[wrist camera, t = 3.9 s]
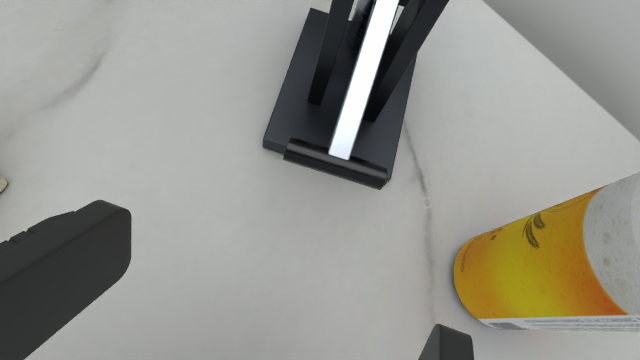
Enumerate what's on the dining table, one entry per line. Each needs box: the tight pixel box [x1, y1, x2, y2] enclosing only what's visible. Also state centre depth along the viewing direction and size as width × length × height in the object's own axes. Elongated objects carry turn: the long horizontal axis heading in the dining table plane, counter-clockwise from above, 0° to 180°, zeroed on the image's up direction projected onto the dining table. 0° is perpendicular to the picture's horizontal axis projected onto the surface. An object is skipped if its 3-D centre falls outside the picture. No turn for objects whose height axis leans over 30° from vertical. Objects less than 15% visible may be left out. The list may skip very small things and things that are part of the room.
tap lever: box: [283, 0, 410, 190], centre depth 19 cm, size 12×5×2 cm, turn 165°
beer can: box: [454, 172, 640, 331], centre depth 20 cm, size 6×6×15 cm
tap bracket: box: [263, 0, 449, 185], centre depth 24 cm, size 12×9×14 cm
